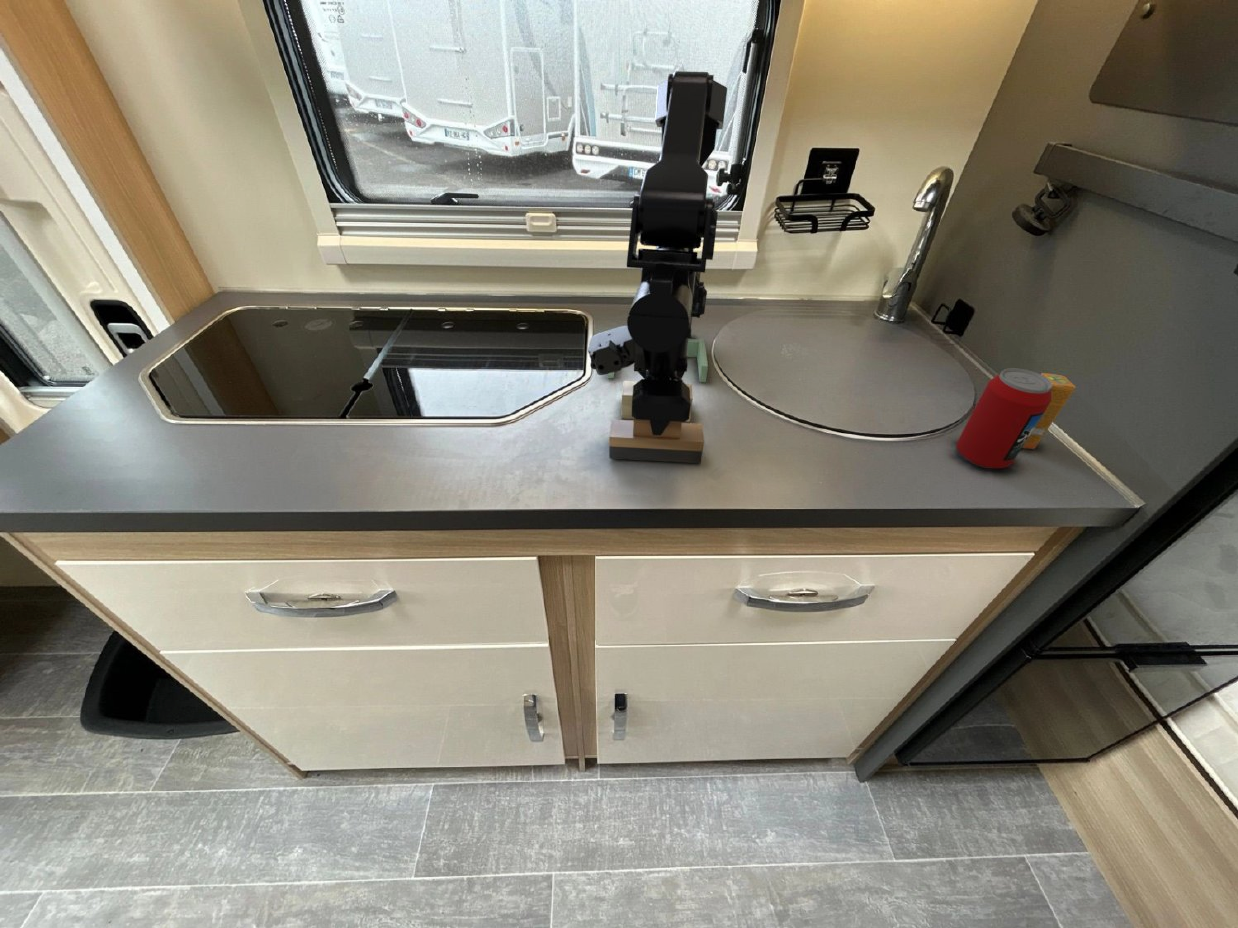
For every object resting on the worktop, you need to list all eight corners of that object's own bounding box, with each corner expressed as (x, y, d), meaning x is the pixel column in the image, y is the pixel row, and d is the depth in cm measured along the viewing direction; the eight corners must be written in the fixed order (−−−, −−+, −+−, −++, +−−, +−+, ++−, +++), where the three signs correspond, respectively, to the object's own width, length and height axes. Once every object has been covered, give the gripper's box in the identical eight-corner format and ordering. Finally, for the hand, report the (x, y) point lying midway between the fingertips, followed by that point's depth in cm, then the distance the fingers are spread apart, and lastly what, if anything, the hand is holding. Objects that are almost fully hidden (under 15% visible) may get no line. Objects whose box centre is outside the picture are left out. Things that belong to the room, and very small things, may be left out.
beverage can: (1018, 476, 68) (1070, 396, 60) (961, 469, 69) (1005, 389, 61) (999, 445, 73) (1045, 368, 65) (947, 439, 74) (986, 362, 66)
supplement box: (1037, 450, 72) (1079, 387, 66) (1010, 447, 72) (1049, 384, 66) (1027, 436, 74) (1066, 374, 68) (1001, 433, 75) (1037, 371, 69)
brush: (611, 440, 72) (611, 393, 67) (699, 444, 71) (705, 397, 67) (609, 458, 69) (609, 410, 64) (700, 463, 68) (707, 415, 63)
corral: (612, 351, 93) (612, 335, 91) (702, 355, 92) (704, 339, 90) (607, 378, 86) (607, 361, 84) (705, 382, 85) (708, 366, 83)
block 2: (662, 405, 79) (664, 382, 77) (689, 406, 79) (691, 383, 77) (662, 420, 76) (664, 397, 74) (690, 421, 76) (692, 398, 74)
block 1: (623, 403, 80) (623, 380, 77) (649, 405, 80) (650, 382, 77) (621, 418, 77) (621, 395, 74) (648, 419, 76) (650, 396, 74)
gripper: (600, 277, 65) (601, 386, 75) (582, 346, 51) (586, 469, 61) (690, 281, 65) (679, 390, 75) (697, 351, 50) (682, 475, 60)
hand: (656, 426), depth 67 cm, fingers closed on brush, 3 cm apart
